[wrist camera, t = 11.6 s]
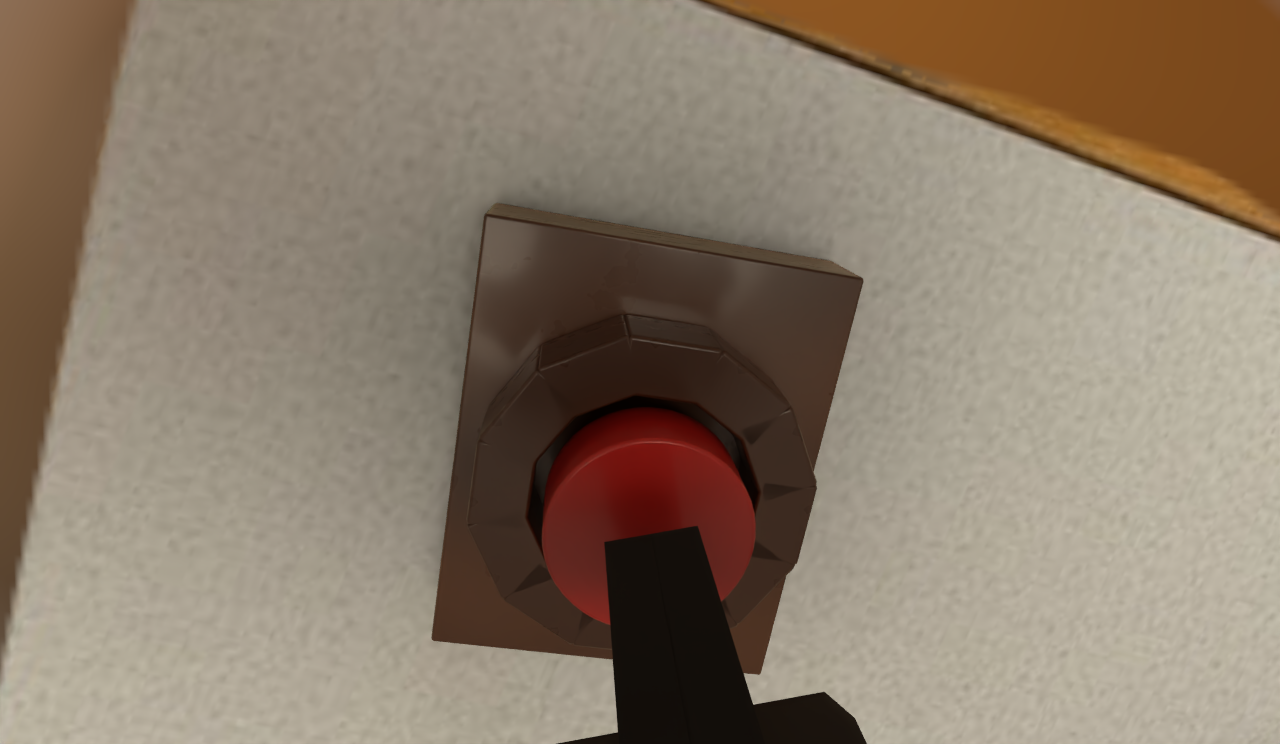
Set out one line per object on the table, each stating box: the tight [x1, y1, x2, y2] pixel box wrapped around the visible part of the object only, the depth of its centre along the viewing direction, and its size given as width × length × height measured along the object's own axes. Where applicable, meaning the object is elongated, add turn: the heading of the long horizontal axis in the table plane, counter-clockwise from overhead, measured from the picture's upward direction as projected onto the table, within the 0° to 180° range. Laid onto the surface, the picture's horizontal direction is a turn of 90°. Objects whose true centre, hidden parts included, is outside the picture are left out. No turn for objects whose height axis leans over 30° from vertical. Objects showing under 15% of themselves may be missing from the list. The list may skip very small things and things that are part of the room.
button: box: [542, 407, 756, 625], centre depth 16 cm, size 4×4×2 cm
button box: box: [431, 203, 863, 675], centre depth 18 cm, size 10×8×4 cm
